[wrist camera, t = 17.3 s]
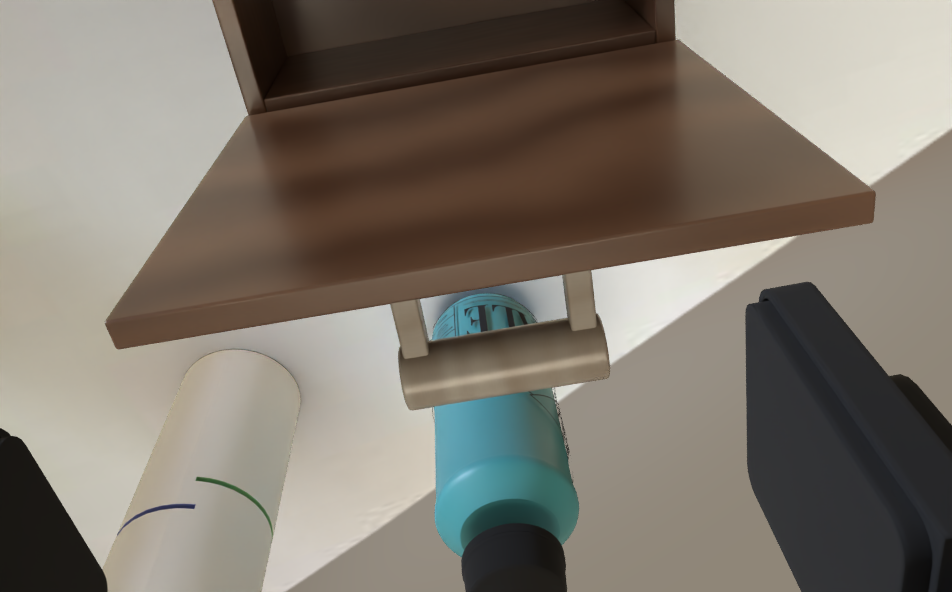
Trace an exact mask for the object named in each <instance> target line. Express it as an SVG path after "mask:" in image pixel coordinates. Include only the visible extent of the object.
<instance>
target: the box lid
mask: <svg viewBox="0 0 952 592" xmlns="http://www.w3.org/2000/svg"><path fill="white" fill-rule="evenodd" d="M875 196H876V194H875V191H874V190H873V189H871V188H870V187H869V186H868V185H866V184H865V183H864V182H862V181H861V180H860V179H858V178H857V177H856V176H855V175H853V174H852V173H851V172H849V171H848V170H847V169H845V168H844V167H843V166H842V165H840V164H839V163H838V162H836V161H835V160H834V159H833V158H831V157H830V156H829V155H827V154H826V153H825V152H823V151H822V150H821V149H820V148H818V147H817V146H816V145H814V144H813V143H812V142H810V141H809V140H808V139H807V138H805V137H804V136H803V135H801V134H800V133H799V132H798V131H796V130H795V129H794V128H792V127H791V126H790V125H788V124H787V123H786V122H785V121H783V120H782V119H781V118H779V117H778V116H777V115H775V114H774V113H773V112H772V111H770V110H769V109H768V108H766V107H765V106H764V105H762V104H761V103H760V102H759V101H757V100H756V99H755V98H753V97H752V96H751V95H750V94H748V93H747V92H746V91H744V90H743V89H742V88H740V87H739V86H738V85H737V84H735V83H734V82H733V81H731V80H730V79H729V78H727V77H726V76H725V75H724V74H722V73H721V72H720V71H718V70H717V69H716V68H714V67H713V66H712V65H711V64H709V63H708V62H707V61H705V60H704V59H703V58H702V57H700V56H699V55H698V54H696V53H695V52H694V51H692V50H691V49H690V48H689V47H687V46H686V45H685V44H683V43H682V42H681V41H679V40H673V41H667V42H662V43H656V44H651V45H645V46H639V47H634V48H628V49H622V50H617V51H611V52H605V53H600V54H594V55H588V56H583V57H577V58H572V59H566V60H560V61H555V62H549V63H543V64H538V65H532V66H526V67H521V68H515V69H509V70H504V71H498V72H493V73H487V74H481V75H476V76H470V77H464V78H459V79H453V80H447V81H442V82H436V83H430V84H425V85H419V86H414V87H408V88H402V89H397V90H391V91H385V92H380V93H374V94H368V95H363V96H357V97H351V98H346V99H340V100H335V101H329V102H323V103H318V104H312V105H306V106H301V107H295V108H289V109H284V110H278V111H272V112H267V113H261V114H256V115H250V116H246V117H245V118H244V120H243V121H242V123H241V124H240V125H239V127H238V128H237V130H236V131H235V133H234V134H233V136H232V137H231V139H230V140H229V142H228V143H227V144H226V146H225V147H224V149H223V150H222V152H221V153H220V155H219V156H218V158H217V159H216V160H215V162H214V163H213V165H212V166H211V168H210V169H209V171H208V172H207V174H206V175H205V176H204V178H203V179H202V181H201V182H200V184H199V185H198V187H197V188H196V190H195V191H194V193H193V194H192V195H191V197H190V198H189V200H188V201H187V203H186V204H185V206H184V207H183V209H182V210H181V211H180V213H179V214H178V216H177V217H176V219H175V220H174V222H173V223H172V225H171V226H170V227H169V229H168V230H167V232H166V233H165V235H164V236H163V238H162V239H161V241H160V242H159V244H158V245H157V246H156V248H155V249H154V251H153V252H152V254H151V255H150V257H149V258H148V260H147V261H146V262H145V264H144V265H143V267H142V268H141V270H140V271H139V273H138V274H137V276H136V277H135V278H134V280H133V281H132V283H131V284H130V286H129V287H128V289H127V290H126V292H125V293H124V295H123V296H122V297H121V299H120V300H119V302H118V303H117V305H116V306H115V308H114V309H113V311H112V312H111V313H110V315H109V316H108V318H107V319H106V321H105V325H106V327H107V330H108V332H109V334H110V336H111V338H112V341H113V343H114V345H115V347H116V349H124V348H130V347H136V346H142V345H148V344H154V343H160V342H166V341H172V340H178V339H184V338H190V337H196V336H201V335H207V334H213V333H219V332H225V331H231V330H237V329H243V328H249V327H255V326H261V325H267V324H273V323H279V322H285V321H291V320H297V319H303V318H309V317H315V316H321V315H327V314H332V313H338V312H344V311H350V310H356V309H362V308H368V307H374V306H380V305H386V304H390V305H391V309H392V313H393V317H394V321H395V325H396V329H397V333H398V337H399V342H400V347H399V352H398V362H399V372H400V379H401V385H402V390H403V395H404V398H405V402H406V404H407V406H408V408H409V410H418V409H424V408H430V407H436V406H442V405H449V404H455V403H461V402H467V401H473V400H479V399H485V398H491V397H498V396H504V395H510V394H516V393H522V392H528V391H534V390H540V389H547V388H553V387H559V386H565V385H571V384H577V383H583V382H590V381H596V380H601V379H607V378H609V375H610V363H609V355H608V348H607V342H606V337H605V333H604V328H603V325H602V321H601V319H600V317H599V315H598V314H597V313H596V310H595V301H594V292H593V282H592V273H591V270H594V269H600V268H606V267H612V266H618V265H624V264H630V263H636V262H642V261H648V260H654V259H660V258H666V257H672V256H678V255H684V254H690V253H696V252H702V251H708V250H714V249H720V248H725V247H731V246H737V245H743V244H749V243H755V242H761V241H767V240H773V239H779V238H785V237H791V236H797V235H802V234H809V233H814V232H821V231H826V230H833V229H839V228H844V227H850V226H856V225H862V224H868V223H872V222H873V220H874V209H875ZM559 275H562V277H563V285H564V293H565V301H566V309H567V316H568V318H563V319H557V320H551V321H545V322H539V323H533V324H527V325H521V326H515V327H509V328H503V329H497V330H491V331H485V332H479V333H473V334H467V335H461V336H455V337H449V338H443V339H436V340H430V341H429V338H428V334H427V330H426V325H425V321H424V316H423V312H422V307H421V303H420V299H422V298H428V297H434V296H440V295H446V294H452V293H458V292H463V291H469V290H475V289H481V288H487V287H493V286H499V285H505V284H511V283H517V282H523V281H529V280H535V279H541V278H547V277H553V276H559Z"/></svg>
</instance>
